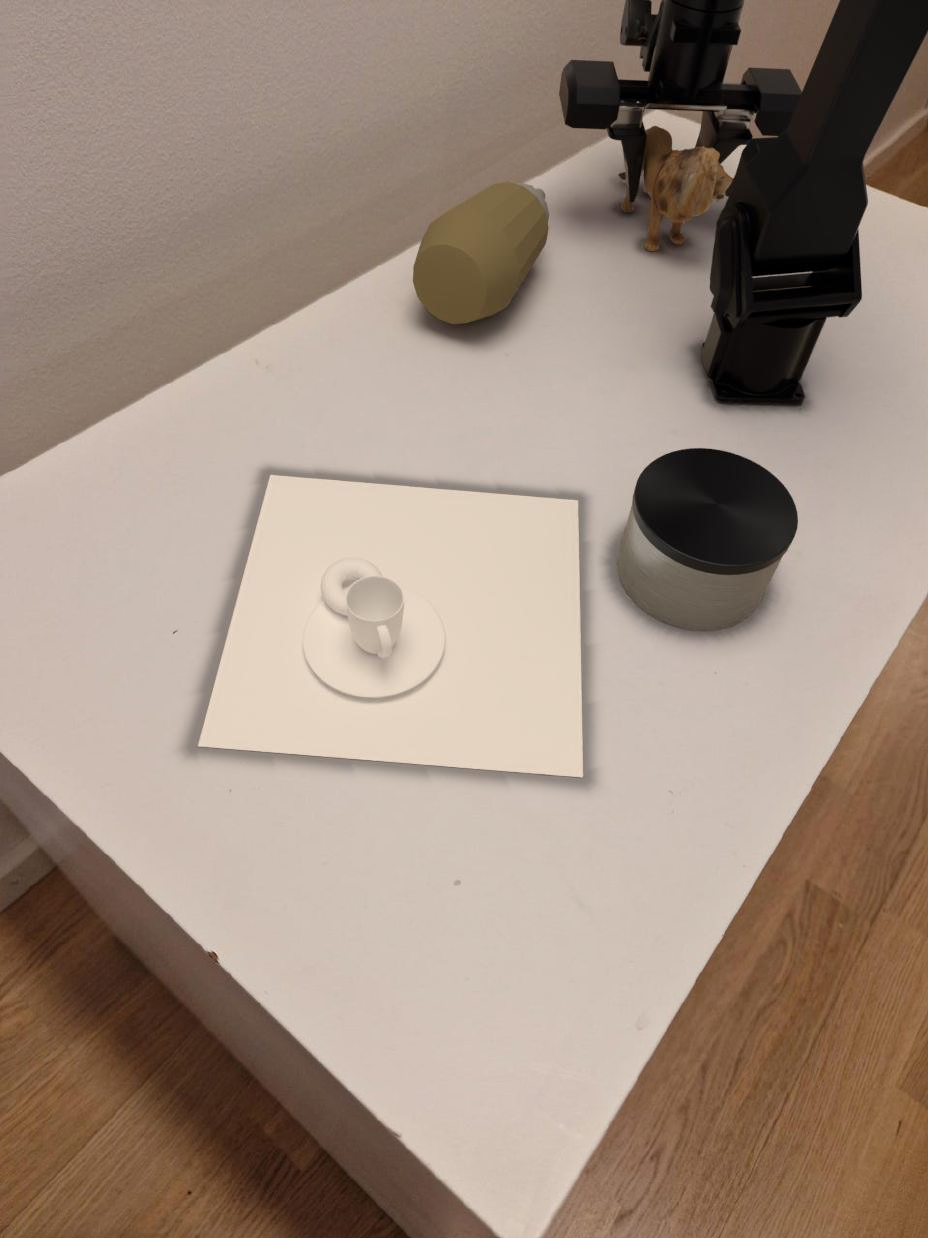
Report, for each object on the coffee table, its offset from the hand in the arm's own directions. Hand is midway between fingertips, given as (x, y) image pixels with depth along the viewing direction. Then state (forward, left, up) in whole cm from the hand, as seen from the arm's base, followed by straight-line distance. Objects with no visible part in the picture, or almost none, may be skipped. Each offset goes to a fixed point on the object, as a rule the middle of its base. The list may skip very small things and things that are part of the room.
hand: (657, 201), depth 80 cm
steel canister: (+4, +40, -2) cm, 41 cm away
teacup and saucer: (+21, +43, -2) cm, 48 cm away
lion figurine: (0, +1, -2) cm, 2 cm away
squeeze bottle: (+19, +18, +3) cm, 26 cm away
